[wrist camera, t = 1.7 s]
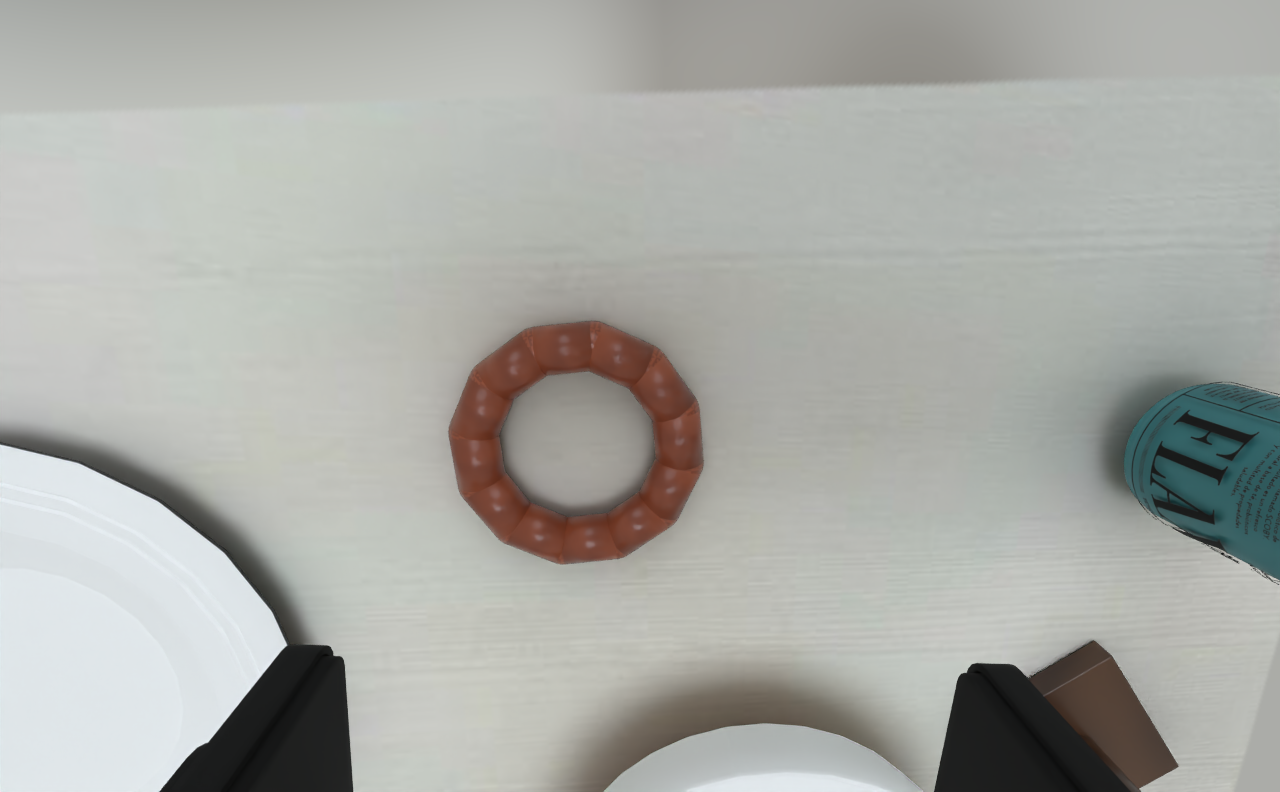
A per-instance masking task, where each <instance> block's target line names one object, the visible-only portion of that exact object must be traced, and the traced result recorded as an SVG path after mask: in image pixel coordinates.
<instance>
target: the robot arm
mask: <svg viewBox="0 0 1280 792" xmlns="http://www.w3.org/2000/svg"><path fill="white" fill-rule="evenodd" d="M159 792H353V781H352V766H351V752H350V737H349V722H348V708H347V693H346V678H345V665H344V660H343V658H342V657H340V656H333V651H332V649H331V647H329V646H325V645H288V646H286V647H285V648H284V649H283V650H282V651H281V652H280V653H279V654H278V656H277V657H276V658H275V659H274V661H273V662H272V663H271V664H270V666H269V667H268V668H267V669H266V671H265V672H264V673H263V674H262V676H261V677H260V678H259V679H258V681H257V682H256V683H255V684H254V686H253V687H252V688H251V689H250V691H249V692H248V693H247V694H246V696H245V697H244V698H243V699H242V701H241V702H240V703H239V704H238V706H237V707H236V708H235V709H234V711H233V712H232V713H231V714H230V716H229V717H228V718H227V719H226V721H225V722H224V723H223V724H222V726H221V727H220V728H219V729H218V731H217V732H216V733H215V734H214V736H213V737H212V738H211V739H210V741H209V742H208V743H205V744H203V745H201V746H199V747H197V748H196V749H195V750H194V751H193V752H192V753H191V754H190V755H189V756H188V757H187V758H186V759H185V761H184V762H183V763H182V764H181V766H180V767H179V768H178V769H177V770H176V772H175V773H174V774H173V775H172V777H171V778H170V779H169V780H168V781H167V783H166V784H165V785H164V786H163V788H162V789H161V790H160V791H159ZM934 792H1131V791H1130V790H1129V789H1128V788H1127V787H1126V786H1125V784H1124V783H1123V782H1122V781H1121V780H1120V779H1119V778H1118V777H1117V776H1116V775H1115V773H1114V772H1113V771H1112V770H1111V769H1110V768H1109V767H1108V766H1107V765H1106V764H1105V763H1104V761H1103V760H1102V759H1101V758H1100V757H1099V756H1098V755H1097V754H1096V753H1095V752H1094V751H1093V749H1092V748H1091V747H1090V746H1089V745H1088V744H1087V743H1086V742H1085V741H1084V740H1083V738H1082V737H1081V736H1080V735H1079V734H1078V733H1077V732H1076V731H1075V730H1074V729H1073V728H1072V726H1071V725H1070V724H1069V723H1068V722H1067V721H1066V720H1065V719H1064V718H1063V717H1062V715H1061V714H1060V713H1059V712H1058V711H1057V710H1056V709H1055V708H1054V707H1053V706H1052V705H1051V703H1050V702H1049V701H1048V700H1047V699H1046V698H1045V697H1044V696H1043V695H1042V694H1041V693H1040V691H1039V690H1038V689H1037V688H1036V687H1035V686H1034V685H1033V684H1032V683H1031V682H1030V680H1029V679H1028V678H1027V677H1026V676H1025V675H1024V674H1023V673H1022V672H1021V671H1020V670H1019V669H1018V668H1017V667H1016V666H1014V665H1010V664H984V663H975V664H972V665H971V666H970V667H969V668H968V671H967V673H963V674H961V675H960V676H959V678H958V681H957V685H956V690H955V694H954V699H953V704H952V709H951V713H950V718H949V723H948V728H947V733H946V737H945V742H944V747H943V752H942V756H941V761H940V766H939V771H938V775H937V780H936V785H935V790H934Z"/></svg>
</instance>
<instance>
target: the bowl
mask: <svg viewBox="0 0 1280 792" xmlns="http://www.w3.org/2000/svg"><path fill="white" fill-rule="evenodd" d="M603 792H924V791H923V790H922V789H921V788H920V787H919V786H917V785H916V784H915V783H914V782H913V781H912V780H910V779H909V778H908V777H907V776H906V775H905V774H903V773H902V772H901V771H900V770H899V769H897V768H896V767H895V766H893V765H892V764H891V763H889V762H888V761H887V760H885V759H884V758H883V757H881V756H880V755H879V754H877V753H876V752H875V751H873V750H871V749H869V748H867V747H865V746H862V745H860V744H858V743H856V742H854V741H852V740H850V739H847V738H845V737H843V736H841V735H837V734H833V733H829V732H825V731H822V730H818V729H814V728H810V727H806V726H795V725H782V724H769V723H763V724H752V725H741V726H730V727H724V728H720V729H716V730H712V731H708V732H704V733H701V734H697V735H693V736H689V737H686V738H684V739H682V740H680V741H677V742H675V743H673V744H671V745H668V746H666V747H664V748H662V749H659V750H657V751H655V752H653V753H651V754H650V755H648V756H647V757H645V758H644V759H642V760H641V761H639V762H638V763H636V764H635V765H633V766H632V767H630V768H629V769H627V770H626V771H624V772H623V773H622V774H620V775H619V776H618V777H617V778H616V779H615V780H614V781H613V782H612V783H611V784H610V785H609V786H608V787H607V788H606V789H605V790H604V791H603Z"/></svg>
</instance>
